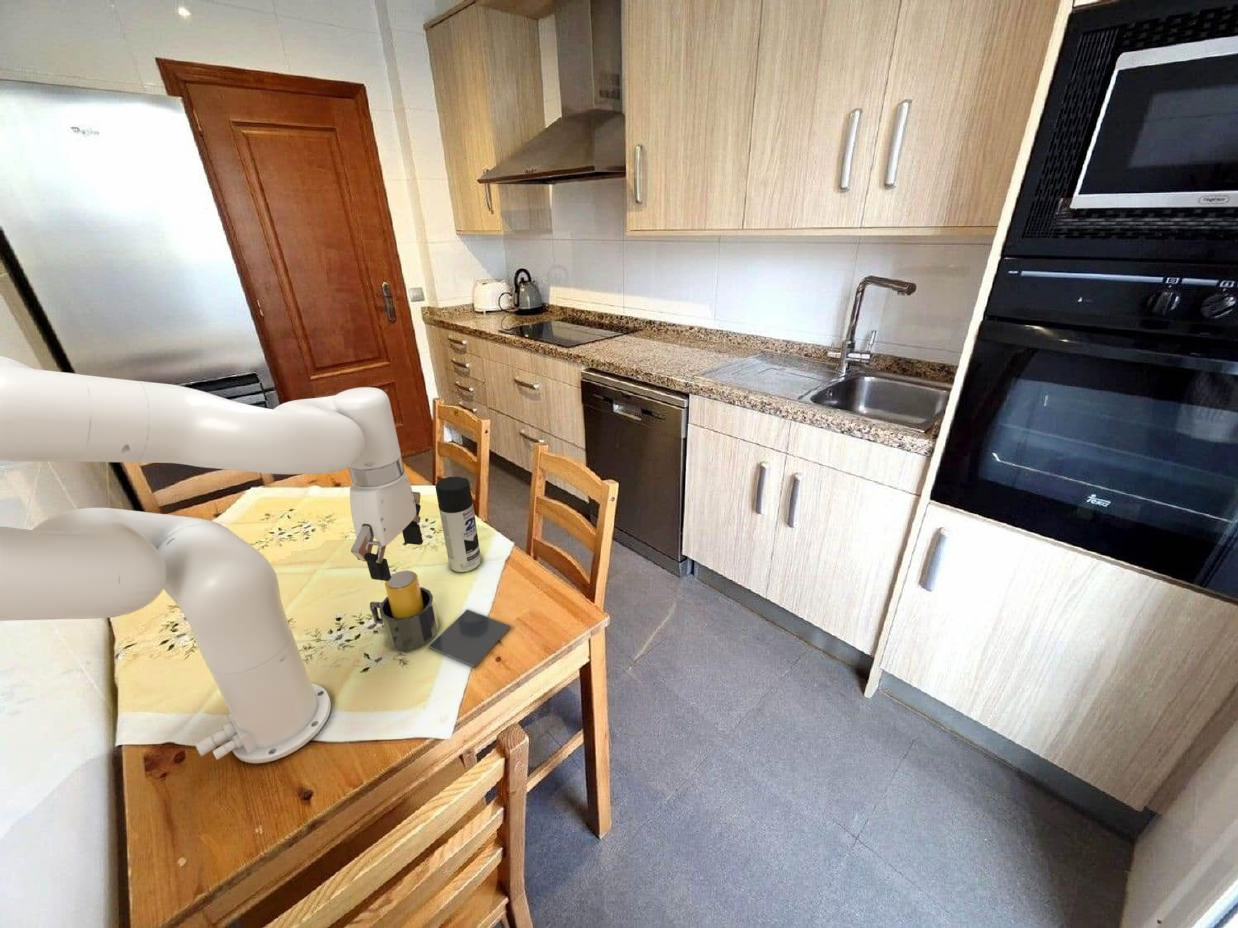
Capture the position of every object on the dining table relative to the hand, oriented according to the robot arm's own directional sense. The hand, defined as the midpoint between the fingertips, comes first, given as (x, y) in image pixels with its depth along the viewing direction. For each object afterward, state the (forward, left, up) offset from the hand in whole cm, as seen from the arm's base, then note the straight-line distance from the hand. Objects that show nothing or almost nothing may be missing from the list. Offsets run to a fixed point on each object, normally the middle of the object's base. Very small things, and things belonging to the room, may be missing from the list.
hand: (398, 560), depth 84 cm
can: (0, 0, -15) cm, 15 cm away
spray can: (+18, +10, -16) cm, 26 cm away
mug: (-1, +1, -16) cm, 16 cm away
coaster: (+6, -9, -16) cm, 19 cm away
